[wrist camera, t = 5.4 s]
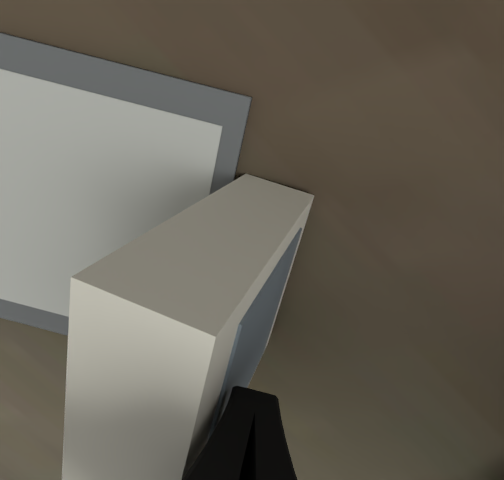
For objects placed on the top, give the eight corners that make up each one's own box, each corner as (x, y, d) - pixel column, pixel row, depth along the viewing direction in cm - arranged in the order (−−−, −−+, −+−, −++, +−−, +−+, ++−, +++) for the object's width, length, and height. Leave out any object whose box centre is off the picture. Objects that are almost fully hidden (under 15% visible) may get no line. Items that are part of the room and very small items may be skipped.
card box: (316, 196, 19) (220, 338, 8) (269, 343, 22) (161, 576, 12) (246, 173, 19) (71, 277, 9) (212, 320, 23) (60, 519, 12)
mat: (252, 97, 18) (251, 97, 17) (193, 364, 24) (191, 369, 24) (-130, -2, 18) (-141, -3, 18) (-86, 290, 25) (-93, 294, 24)
